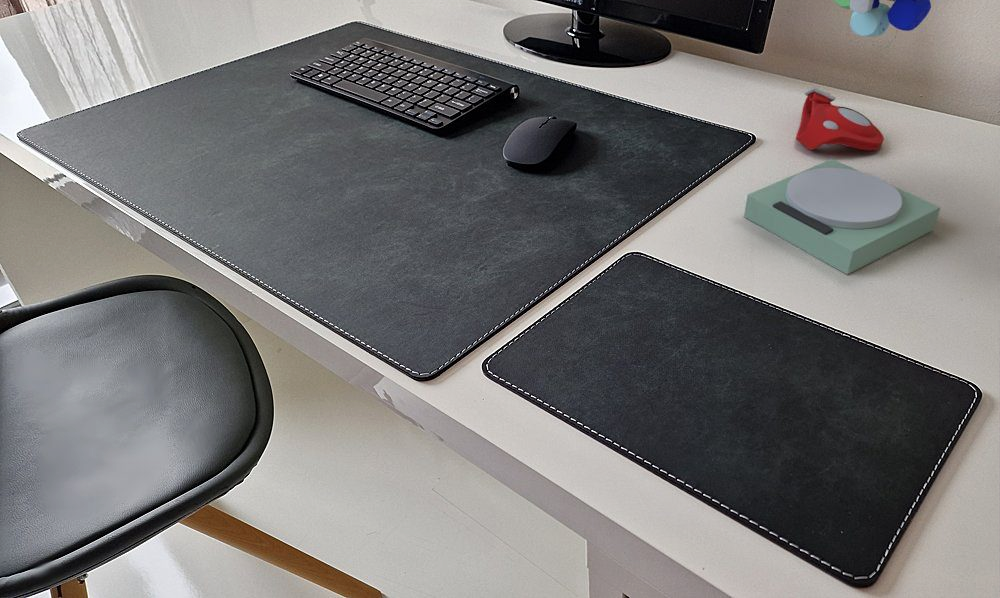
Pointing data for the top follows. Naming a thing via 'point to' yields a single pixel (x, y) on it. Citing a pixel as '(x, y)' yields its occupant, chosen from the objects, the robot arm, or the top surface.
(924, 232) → the scale
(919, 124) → the top surface
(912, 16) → the dice
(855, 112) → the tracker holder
